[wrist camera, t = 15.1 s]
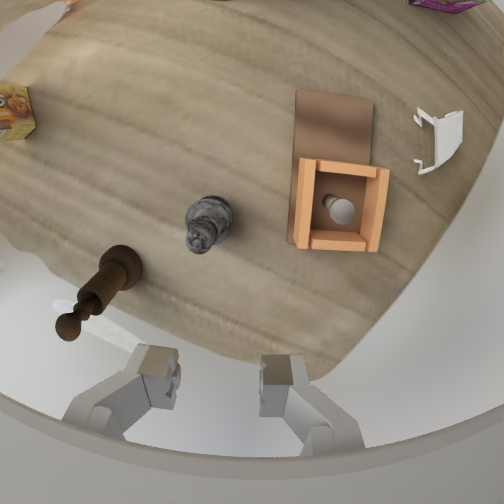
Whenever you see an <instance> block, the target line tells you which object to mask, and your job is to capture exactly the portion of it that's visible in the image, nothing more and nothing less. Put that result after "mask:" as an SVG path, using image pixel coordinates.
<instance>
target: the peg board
mask: <svg viewBox="0 0 504 504" xmlns="http://www.w3.org/2000/svg"><path fill="white" fill-rule="evenodd" d="M372 121H373V101H371V100H366V99H361V98H356V97H351V96H345V95H339V94H333V93H326V92H319V91H311V90H303V89H297V90H296V97H295V119H294V138H293V155H292V170H291V185H290V199H289V211H288V224H287V236H286V241H287V243H288V244H296V243H295V241H294V238H293V234H294V223H295V211H296V199H297V187H298V173H299V159H300V157H302V158H310V159H323V160H332V161H340V162H348V163H356V164H363V165H369V163H370V151H371V138H372ZM366 184H367V176H359V175H351V174H343V173H334V172H324V171H319V170H317V169H315V180H314V192H313V202H312V213H311V222H310V230H326V231H342V232H356V233H357V234H358V235H360V229H361V222H362V215H363V208H364V201H365V193H366ZM308 244H309V242H308ZM309 245H310V244H309Z"/></svg>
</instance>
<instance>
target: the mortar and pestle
mask: <svg viewBox="0 0 504 504" xmlns="http://www.w3.org/2000/svg"><path fill="white" fill-rule="evenodd" d="M141 272H142V264H141V261H140V258H139V256H138V255H137V254H136V252H135V251H134V250H132V249H131V248H129V247H127V246H124V245H116V246H113V247H111V248H110V249H109V250H108V251H107V252H105V253H104V254H103V256H102V257H101V259H100V262H99V271H98V272H97V273H96V274H95V275H94V276H93V277H92V278H91V279H90V280H89V281H88V282H87V283H86V284H85V285H84V286H83V287H82V288H81V289H80V290H79V292H78V294H77V299H78V303H77V304H75V305H74V307H73V311H74V312H73V313H65V314H62V315H61V316H59V317H58V319H57V321H56V325H55V328H56V332H57V334H58V335H59V337H60V338H61V339H63V340H65V341H73V340H75V339H76V338H77V337H78V336H79V335H80V332H81V321H82V320H83V321H86V320H88V319H89V317H90V315H95V316H97V315H100V314H101V313H102V312H103V311H104V310H105V308H106V306H107V305H108V304H109V303H110V301H111V300H112V299H113V297H114V296H115V295H116V293H117V292H118V291H124V290H128V289H130V288H131V287H133V285H134V284H135V283H136V281H137V280H138V279H139V277H140V275H141Z"/></svg>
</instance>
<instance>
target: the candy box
mask: <svg viewBox="0 0 504 504" xmlns="http://www.w3.org/2000/svg"><path fill="white" fill-rule="evenodd" d="M34 128H36V126H35V121H34V117H33V114H32V110H31V105H30V101H29V96H28V92H27V87H25V86H16V85H7V84H0V142H5V141H13V140H22V139H24V138H25V137H26V136H27V135H28V134H29V133H30V132H31V131H32V130H33V129H34Z"/></svg>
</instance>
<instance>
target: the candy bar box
mask: <svg viewBox="0 0 504 504" xmlns="http://www.w3.org/2000/svg"><path fill="white" fill-rule="evenodd" d="M406 1H407V3H408V4H412V5H418V6H423V7H428V8H433V9H437V10H442V11H446V12H449V13H453V14H457V13H460V12H462V11H464V10H467V9H469V8H472V7H474V6H476V5H479V4H482V3H484V2H487V1H490V0H406Z"/></svg>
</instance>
